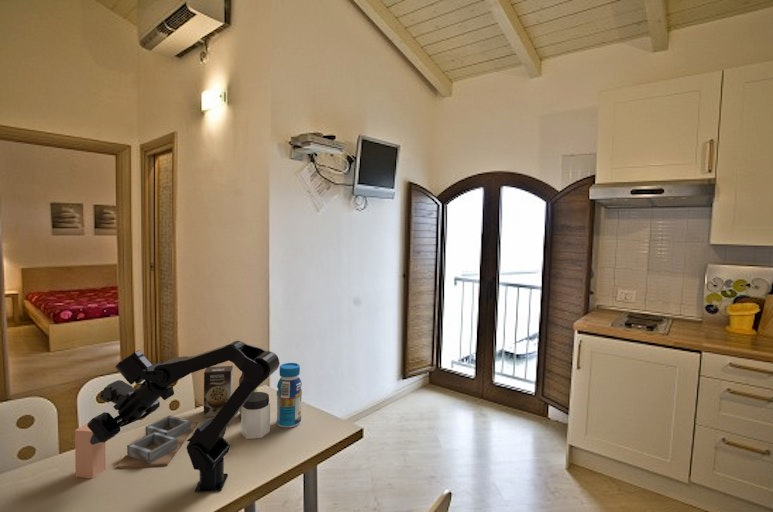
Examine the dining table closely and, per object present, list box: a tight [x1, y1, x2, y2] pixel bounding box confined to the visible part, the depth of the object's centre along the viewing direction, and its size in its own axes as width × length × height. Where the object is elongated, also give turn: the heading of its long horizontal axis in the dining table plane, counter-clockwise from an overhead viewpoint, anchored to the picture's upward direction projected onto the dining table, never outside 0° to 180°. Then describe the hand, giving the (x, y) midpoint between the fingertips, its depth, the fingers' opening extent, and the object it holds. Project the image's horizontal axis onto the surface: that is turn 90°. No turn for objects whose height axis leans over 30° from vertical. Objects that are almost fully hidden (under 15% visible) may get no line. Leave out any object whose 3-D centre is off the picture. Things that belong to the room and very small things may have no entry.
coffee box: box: [202, 365, 234, 418], centre depth 140 cm, size 9×6×16 cm
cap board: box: [115, 415, 198, 469], centre depth 119 cm, size 24×13×4 cm, turn 8°
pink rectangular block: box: [74, 422, 107, 479], centre depth 104 cm, size 5×4×12 cm
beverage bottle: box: [276, 362, 303, 429], centre depth 134 cm, size 8×8×20 cm
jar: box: [240, 391, 271, 440], centre depth 127 cm, size 9×8×12 cm
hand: (106, 433), depth 103 cm, fingers open, 9 cm apart
